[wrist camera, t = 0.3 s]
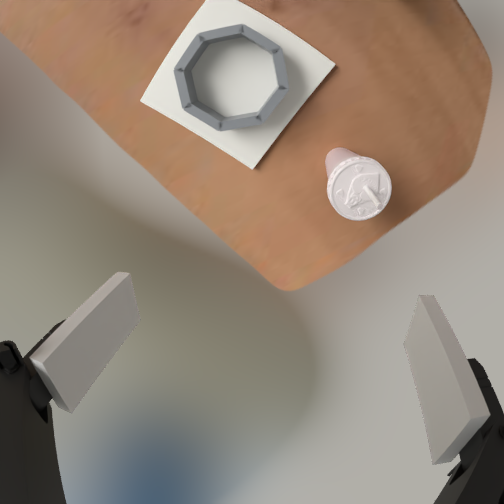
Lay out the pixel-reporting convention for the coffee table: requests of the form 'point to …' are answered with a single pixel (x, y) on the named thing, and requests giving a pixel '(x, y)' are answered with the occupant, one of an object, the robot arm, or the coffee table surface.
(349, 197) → the smoothie
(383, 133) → the coffee table surface
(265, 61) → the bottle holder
